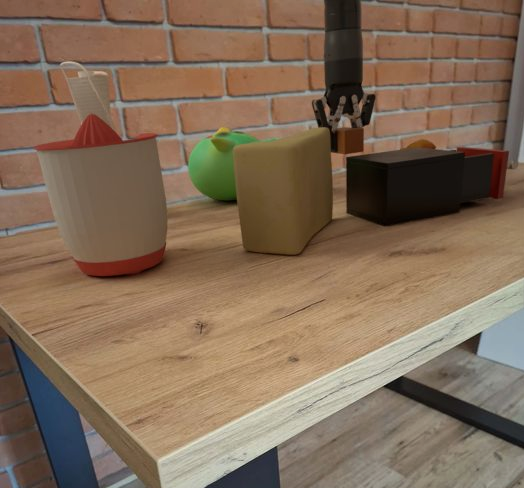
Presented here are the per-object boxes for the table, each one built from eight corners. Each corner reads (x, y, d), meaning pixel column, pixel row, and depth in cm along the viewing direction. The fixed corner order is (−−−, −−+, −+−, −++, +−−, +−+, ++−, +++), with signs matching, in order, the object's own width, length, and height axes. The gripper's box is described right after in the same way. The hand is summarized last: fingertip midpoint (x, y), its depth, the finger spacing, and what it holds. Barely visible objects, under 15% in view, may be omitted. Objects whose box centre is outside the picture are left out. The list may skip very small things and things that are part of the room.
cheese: (303, 217, 92) (300, 127, 85) (355, 219, 87) (355, 124, 80) (239, 252, 75) (228, 143, 68) (299, 257, 70) (293, 140, 64)
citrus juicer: (195, 245, 80) (175, 105, 71) (152, 283, 65) (120, 112, 56) (105, 247, 84) (75, 113, 74) (44, 284, 68) (-3, 122, 59)
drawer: (477, 186, 100) (482, 143, 97) (523, 194, 91) (531, 147, 87) (399, 199, 95) (400, 155, 91) (439, 209, 85) (443, 160, 82)
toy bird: (250, 189, 123) (244, 123, 116) (289, 197, 110) (285, 123, 103) (181, 201, 115) (171, 131, 109) (214, 211, 102) (205, 132, 96)
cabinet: (413, 201, 97) (416, 147, 92) (459, 212, 86) (465, 152, 82) (346, 213, 92) (346, 157, 88) (385, 226, 82) (388, 163, 77)
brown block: (344, 149, 112) (344, 127, 110) (363, 151, 105) (363, 128, 103) (326, 151, 110) (325, 129, 108) (344, 154, 104) (344, 130, 102)
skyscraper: (98, 228, 97) (61, 60, 84) (93, 221, 104) (57, 64, 91) (142, 221, 100) (112, 57, 87) (134, 214, 106) (105, 61, 94)
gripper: (319, 58, 95) (322, 156, 102) (385, 53, 99) (383, 147, 107) (302, 62, 101) (306, 153, 109) (364, 57, 105) (364, 145, 113)
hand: (344, 150), depth 108 cm, fingers closed on brown block, 4 cm apart
